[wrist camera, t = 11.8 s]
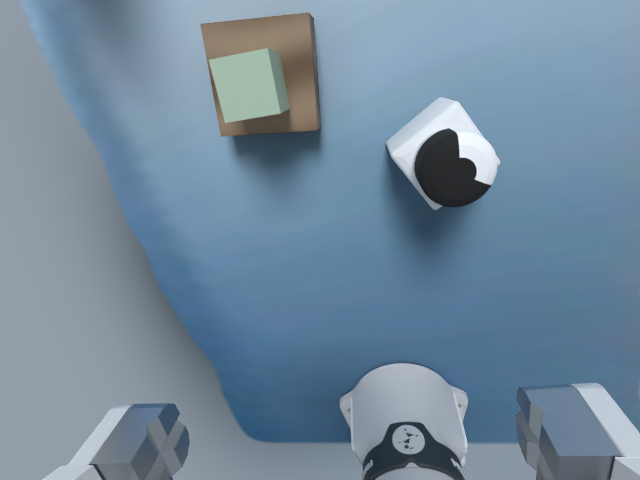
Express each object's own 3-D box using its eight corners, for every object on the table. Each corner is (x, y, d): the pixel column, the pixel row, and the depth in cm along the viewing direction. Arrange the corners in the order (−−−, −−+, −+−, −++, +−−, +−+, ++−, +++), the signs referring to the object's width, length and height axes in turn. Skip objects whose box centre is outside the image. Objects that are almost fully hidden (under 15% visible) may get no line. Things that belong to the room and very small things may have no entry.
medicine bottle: (423, 190, 41) (446, 232, 30) (384, 142, 39) (394, 168, 28) (479, 149, 39) (526, 178, 28) (440, 95, 37) (475, 104, 26)
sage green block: (290, 108, 35) (280, 113, 31) (241, 116, 36) (225, 122, 32) (279, 51, 33) (267, 48, 29) (228, 61, 34) (208, 59, 30)
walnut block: (321, 124, 40) (317, 130, 36) (233, 130, 41) (221, 136, 37) (313, 18, 35) (308, 12, 32) (216, 28, 37) (200, 23, 33)
